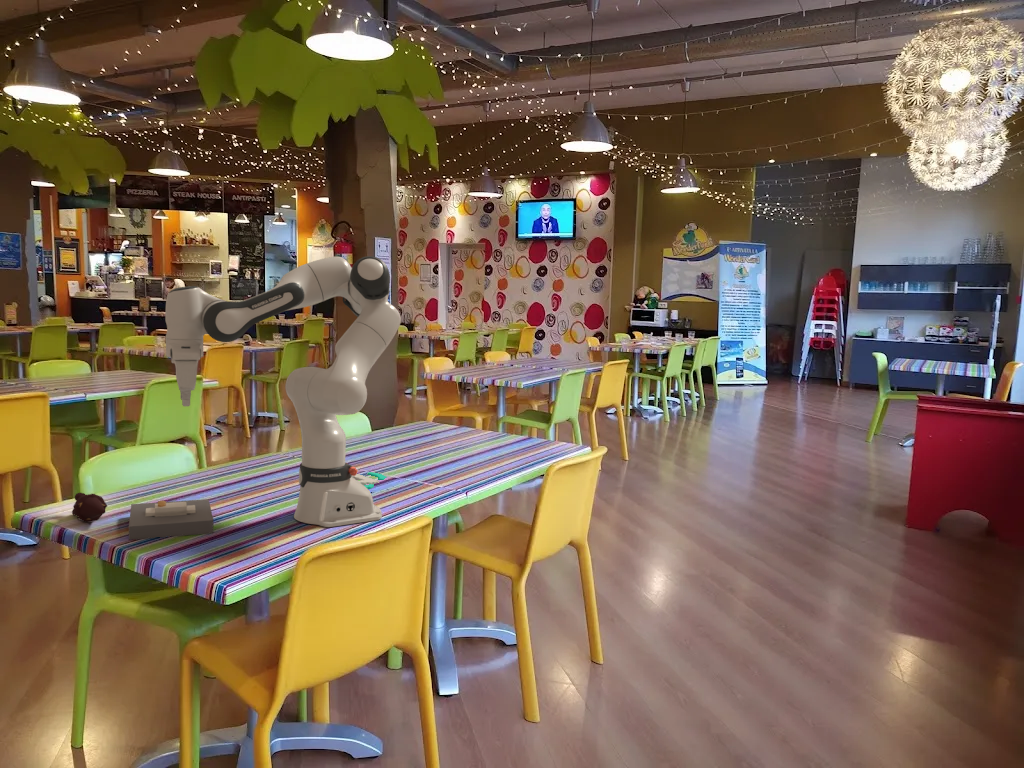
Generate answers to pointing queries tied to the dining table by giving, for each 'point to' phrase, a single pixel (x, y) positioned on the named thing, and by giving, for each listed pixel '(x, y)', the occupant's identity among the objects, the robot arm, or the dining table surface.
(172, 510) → the servo
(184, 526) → the grey board with hole
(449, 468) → the dining table surface
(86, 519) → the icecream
